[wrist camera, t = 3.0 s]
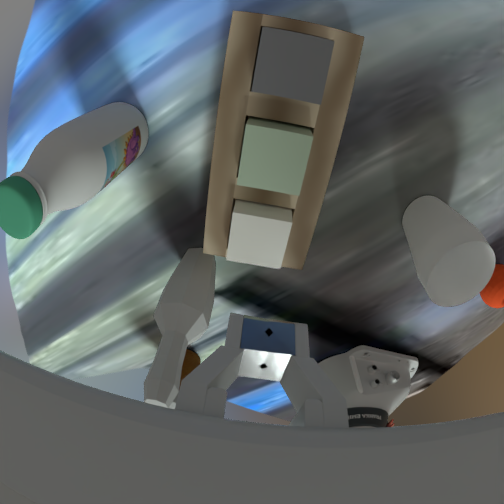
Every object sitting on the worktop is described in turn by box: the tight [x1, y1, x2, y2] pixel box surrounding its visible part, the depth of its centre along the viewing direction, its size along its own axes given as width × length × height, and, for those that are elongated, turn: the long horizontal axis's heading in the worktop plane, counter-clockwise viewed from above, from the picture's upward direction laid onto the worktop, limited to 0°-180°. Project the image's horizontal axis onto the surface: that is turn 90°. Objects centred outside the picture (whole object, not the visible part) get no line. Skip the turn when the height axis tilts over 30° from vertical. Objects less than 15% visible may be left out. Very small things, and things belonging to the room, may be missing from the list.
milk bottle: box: [0, 102, 148, 239], centre depth 25 cm, size 8×8×20 cm
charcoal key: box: [251, 27, 335, 105], centre depth 24 cm, size 6×6×4 cm
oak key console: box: [203, 11, 364, 270], centre depth 32 cm, size 12×27×4 cm, turn 171°
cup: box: [402, 195, 495, 307], centre depth 32 cm, size 9×9×12 cm
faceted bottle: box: [144, 248, 216, 408], centre depth 35 cm, size 6×6×22 cm
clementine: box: [480, 264, 504, 308], centre depth 38 cm, size 8×7×7 cm
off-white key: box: [226, 199, 292, 269], centre depth 35 cm, size 6×6×4 cm
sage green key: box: [237, 116, 313, 196], centre depth 30 cm, size 6×6×4 cm
